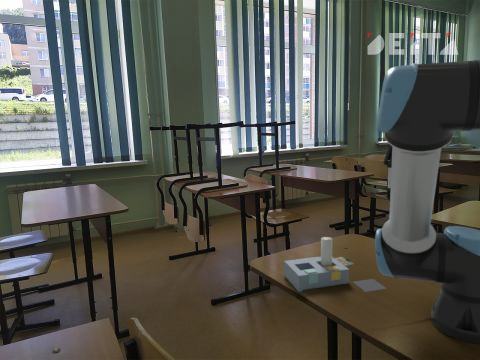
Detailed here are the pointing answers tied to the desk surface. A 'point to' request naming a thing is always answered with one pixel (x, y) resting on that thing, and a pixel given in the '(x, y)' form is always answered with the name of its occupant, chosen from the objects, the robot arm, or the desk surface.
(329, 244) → the plug
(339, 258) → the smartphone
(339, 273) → the socket block
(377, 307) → the desk surface
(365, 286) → the mat
